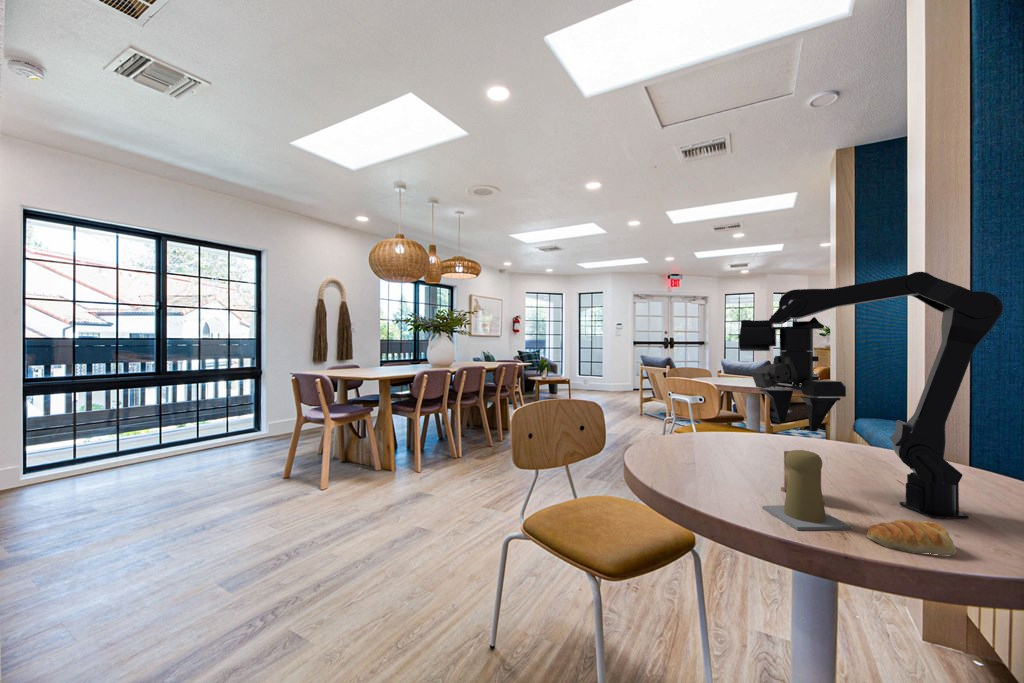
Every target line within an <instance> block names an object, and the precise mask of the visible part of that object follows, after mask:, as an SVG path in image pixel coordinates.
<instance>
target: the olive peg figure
mask: <svg viewBox="0 0 1024 683" xmlns="http://www.w3.org/2000/svg"><path fill="white" fill-rule="evenodd" d="M788 451H789V452H788V453H787V455H786V463H787V466H788V467H789V469H790V470H789V477H788V484H787V491H786V492H785V499H784V500H785V501H784V504H783V505H784V513H785V514H786V515H787V516H789V517H791V518H794V519H797V520H801V521H806V522H815V523H818V522H824V521H826V515H825V513H826V509H825V504H824V503H823V500H824V499H823V493H822V492H823V491H822V484H821V485H820V479H819V473H818V472H819V471H820V470H821V471H822V468H823V461H822V458H821V457H820V455H819V454H818V453H816V452H813V451H809V450H804V449H794V450H788Z"/></svg>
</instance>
